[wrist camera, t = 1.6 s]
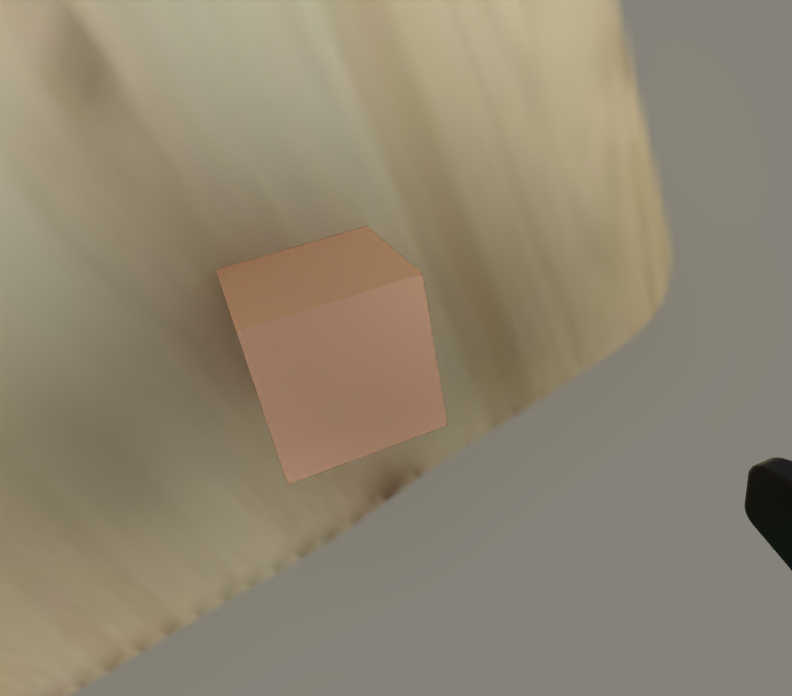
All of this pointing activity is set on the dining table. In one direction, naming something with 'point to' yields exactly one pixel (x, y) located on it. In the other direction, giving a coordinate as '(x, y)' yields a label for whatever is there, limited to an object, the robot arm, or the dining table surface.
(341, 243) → the terracotta block
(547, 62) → the dining table surface
